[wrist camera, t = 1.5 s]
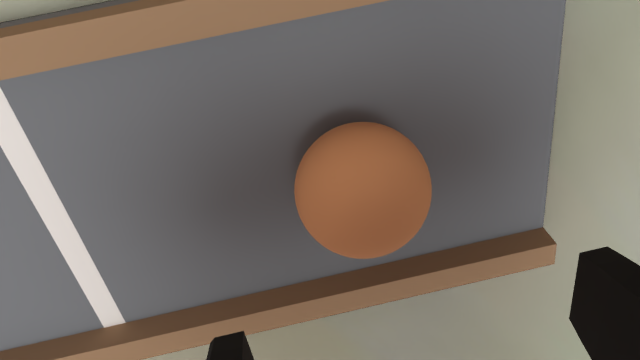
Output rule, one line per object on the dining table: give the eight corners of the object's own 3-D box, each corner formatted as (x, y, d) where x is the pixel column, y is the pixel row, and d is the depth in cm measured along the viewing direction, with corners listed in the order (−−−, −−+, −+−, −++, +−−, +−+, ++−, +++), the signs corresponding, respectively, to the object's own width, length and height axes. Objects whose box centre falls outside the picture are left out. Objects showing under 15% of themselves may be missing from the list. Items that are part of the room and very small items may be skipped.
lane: (562, -91, 15) (649, -72, 12) (533, 237, 22) (584, 302, 19) (-489, 121, 14) (-689, 202, 11) (-174, 399, 20) (-243, 496, 17)
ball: (411, 192, 19) (453, 270, 15) (299, 217, 18) (317, 301, 15) (404, 87, 16) (451, 151, 13) (276, 114, 16) (290, 186, 13)
